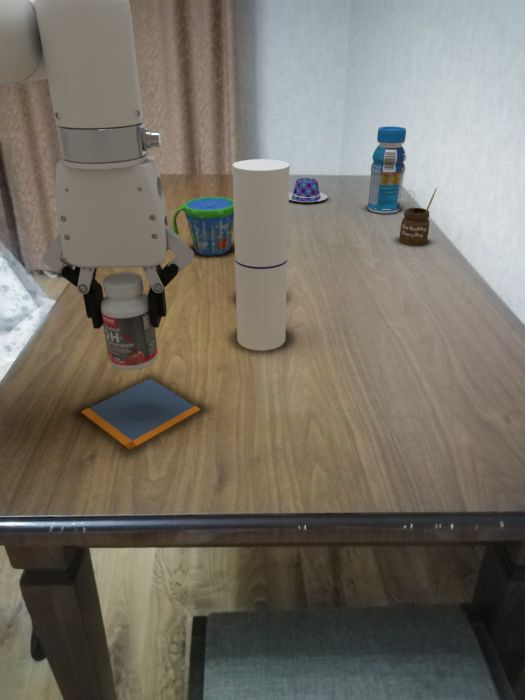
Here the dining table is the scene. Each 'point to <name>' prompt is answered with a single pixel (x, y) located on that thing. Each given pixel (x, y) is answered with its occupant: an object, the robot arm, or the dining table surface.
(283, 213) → the cylindrical container
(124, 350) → the pill bottle
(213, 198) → the snack cup
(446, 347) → the dining table surface
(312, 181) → the purple patterned hat
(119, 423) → the corner pad
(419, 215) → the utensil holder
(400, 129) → the beverage bottle
